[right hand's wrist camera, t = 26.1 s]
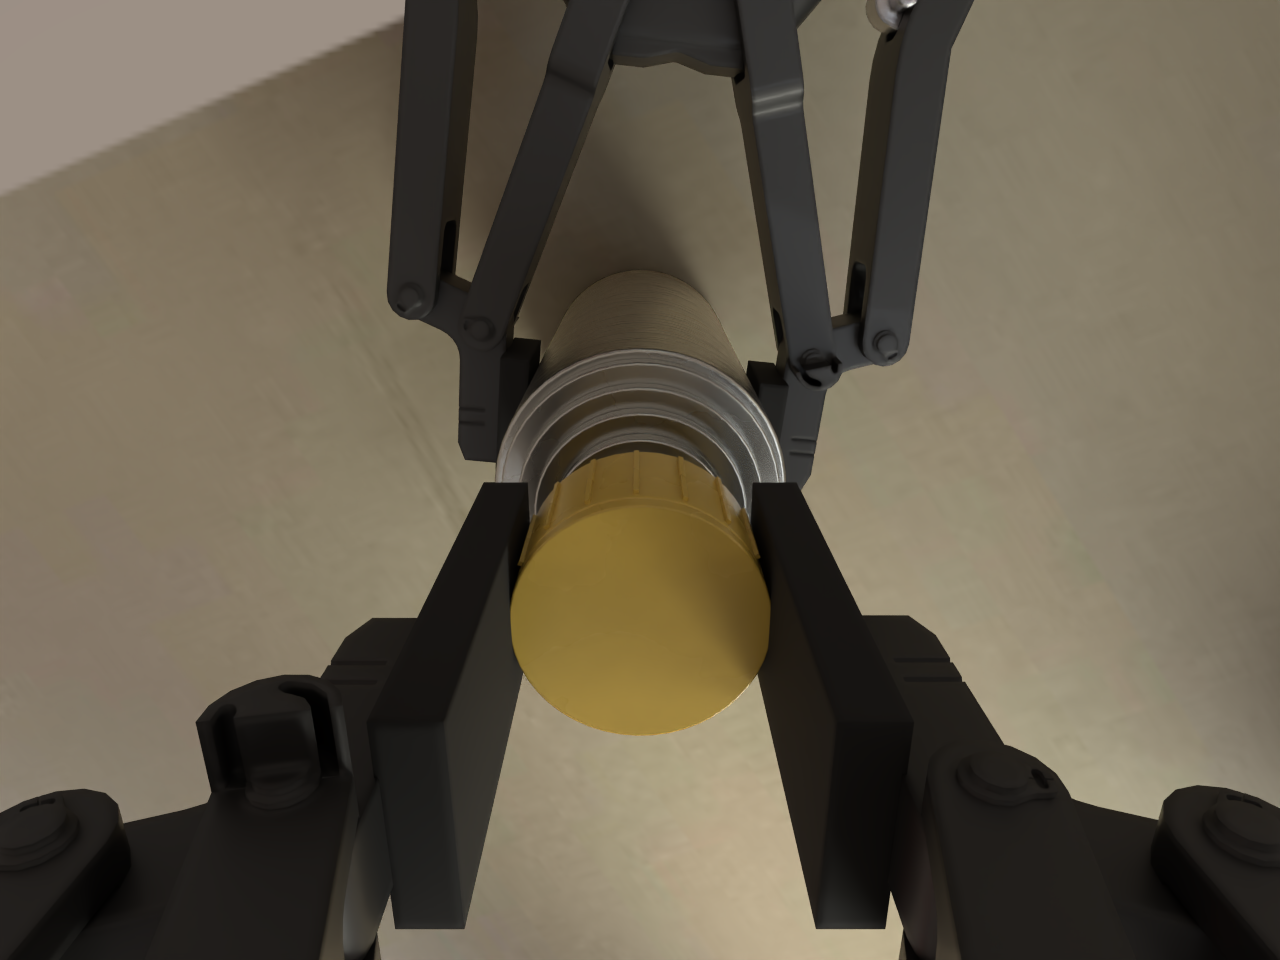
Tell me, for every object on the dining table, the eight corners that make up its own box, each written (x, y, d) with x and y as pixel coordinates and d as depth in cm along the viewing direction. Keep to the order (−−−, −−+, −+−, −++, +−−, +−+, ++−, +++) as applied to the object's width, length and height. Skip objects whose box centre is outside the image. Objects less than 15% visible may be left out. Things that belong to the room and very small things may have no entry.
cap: (491, 606, 15) (465, 684, 13) (580, 408, 14) (567, 457, 11) (692, 684, 15) (701, 772, 13) (795, 503, 14) (824, 567, 12)
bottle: (571, 449, 31) (492, 781, 14) (539, 284, 29) (402, 448, 12) (734, 425, 30) (848, 736, 14) (714, 256, 28) (820, 385, 12)
